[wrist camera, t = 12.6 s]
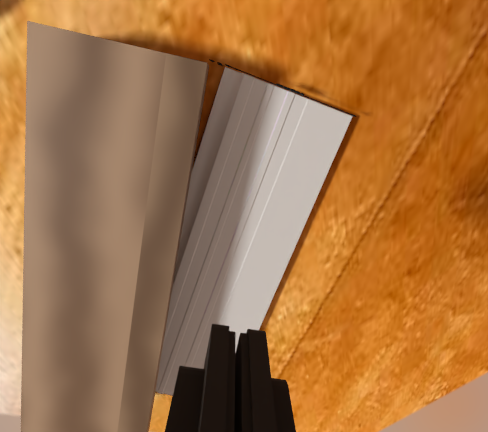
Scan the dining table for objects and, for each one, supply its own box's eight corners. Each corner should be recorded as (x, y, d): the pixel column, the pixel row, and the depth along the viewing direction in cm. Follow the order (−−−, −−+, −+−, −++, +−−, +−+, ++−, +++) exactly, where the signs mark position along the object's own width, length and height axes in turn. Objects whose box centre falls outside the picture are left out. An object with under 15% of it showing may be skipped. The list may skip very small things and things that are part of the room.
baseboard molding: (114, 369, 35) (224, 396, 37) (104, 392, 32) (224, 420, 34) (207, 60, 26) (346, 114, 28) (205, 54, 23) (359, 115, 25)
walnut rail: (211, 71, 26) (207, 62, 21) (157, 396, 35) (144, 447, 30) (70, 38, 25) (27, 20, 20) (52, 383, 34) (20, 433, 29)
